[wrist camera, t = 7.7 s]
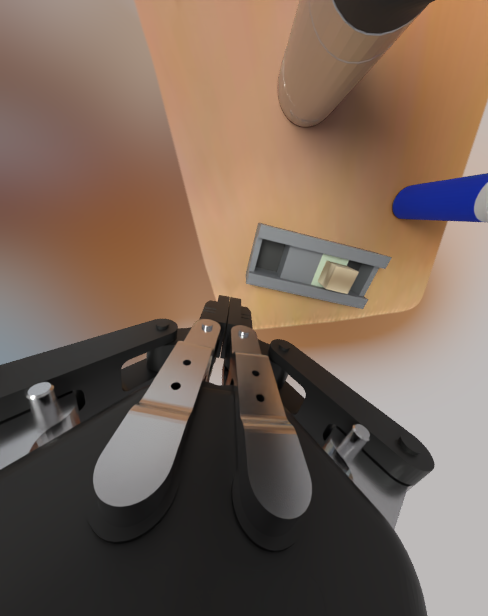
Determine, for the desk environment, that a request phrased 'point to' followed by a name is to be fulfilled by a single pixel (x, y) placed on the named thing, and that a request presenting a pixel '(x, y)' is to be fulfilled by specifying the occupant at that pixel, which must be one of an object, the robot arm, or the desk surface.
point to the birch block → (337, 277)
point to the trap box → (308, 265)
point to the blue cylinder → (445, 200)
